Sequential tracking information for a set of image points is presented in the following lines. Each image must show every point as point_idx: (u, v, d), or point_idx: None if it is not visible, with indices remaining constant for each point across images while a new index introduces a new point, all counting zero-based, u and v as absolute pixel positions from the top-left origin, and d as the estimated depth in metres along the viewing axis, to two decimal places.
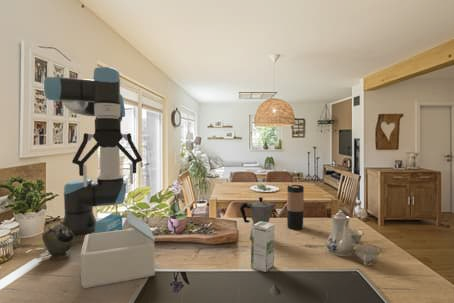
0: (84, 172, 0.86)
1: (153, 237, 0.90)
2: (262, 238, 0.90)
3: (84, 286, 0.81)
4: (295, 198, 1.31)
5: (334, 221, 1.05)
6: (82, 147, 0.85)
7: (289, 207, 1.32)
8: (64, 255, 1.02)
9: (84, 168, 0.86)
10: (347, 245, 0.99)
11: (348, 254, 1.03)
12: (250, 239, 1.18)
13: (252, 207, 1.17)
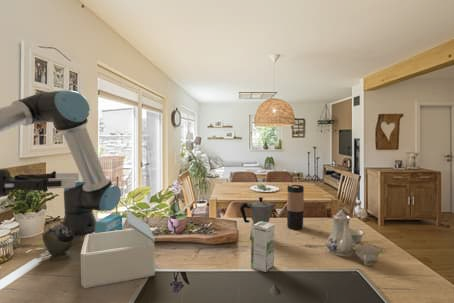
0: None
1: (153, 237, 0.90)
2: (262, 238, 0.90)
3: (84, 286, 0.81)
4: (295, 198, 1.31)
5: (334, 221, 1.05)
6: None
7: (289, 207, 1.32)
8: (64, 255, 1.02)
9: None
10: (347, 245, 0.99)
11: (348, 254, 1.03)
12: (250, 239, 1.18)
13: (252, 207, 1.17)
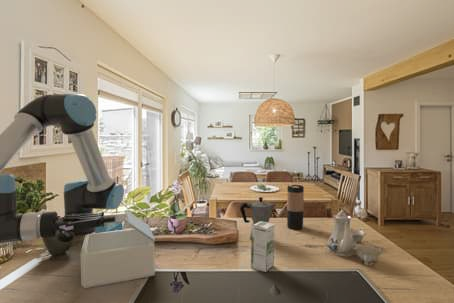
0: None
1: (153, 237, 0.90)
2: (262, 238, 0.90)
3: (84, 286, 0.81)
4: (295, 198, 1.31)
5: (335, 221, 1.05)
6: None
7: (289, 207, 1.32)
8: (64, 255, 1.02)
9: None
10: (348, 245, 0.99)
11: (349, 254, 1.03)
12: (250, 239, 1.18)
13: (252, 207, 1.17)
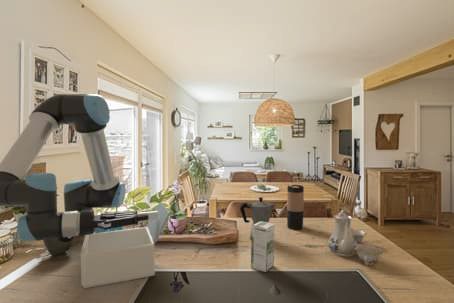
0: None
1: None
2: (262, 238, 0.90)
3: (84, 286, 0.81)
4: (295, 198, 1.31)
5: (336, 221, 1.05)
6: None
7: (289, 207, 1.32)
8: (64, 255, 1.02)
9: None
10: (348, 245, 0.99)
11: (350, 254, 1.03)
12: (250, 239, 1.18)
13: (252, 207, 1.17)
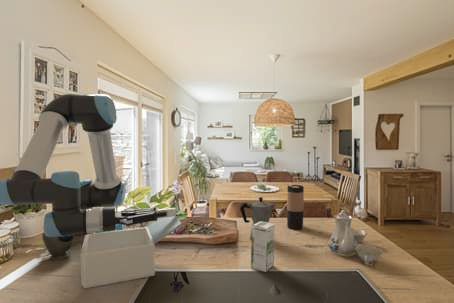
0: None
1: None
2: (262, 238, 0.90)
3: (84, 286, 0.81)
4: (295, 198, 1.31)
5: (336, 221, 1.05)
6: None
7: (289, 207, 1.32)
8: (64, 255, 1.02)
9: None
10: (348, 245, 0.99)
11: (350, 254, 1.03)
12: (250, 239, 1.18)
13: (252, 207, 1.17)
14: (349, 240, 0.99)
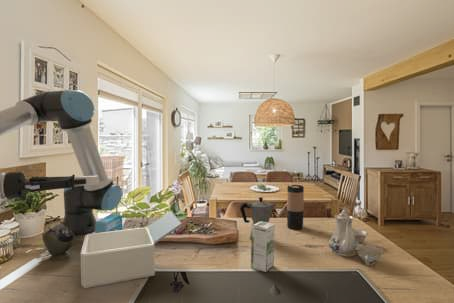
0: None
1: None
2: (262, 238, 0.90)
3: (84, 286, 0.81)
4: (295, 198, 1.31)
5: (337, 221, 1.05)
6: None
7: (289, 207, 1.32)
8: (64, 255, 1.02)
9: None
10: (349, 245, 0.99)
11: (351, 254, 1.03)
12: (250, 239, 1.18)
13: (252, 207, 1.17)
14: (350, 240, 0.99)
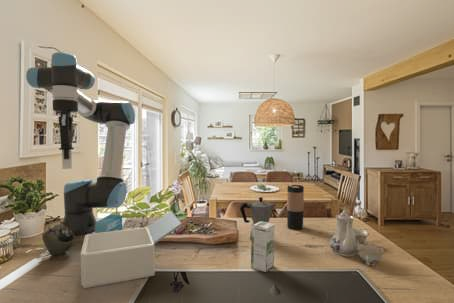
0: None
1: None
2: (262, 238, 0.90)
3: (84, 286, 0.81)
4: (295, 198, 1.31)
5: (338, 221, 1.05)
6: None
7: (289, 207, 1.32)
8: (64, 255, 1.02)
9: None
10: (350, 245, 0.99)
11: (352, 254, 1.03)
12: (250, 239, 1.18)
13: (252, 207, 1.17)
14: (350, 240, 0.99)
